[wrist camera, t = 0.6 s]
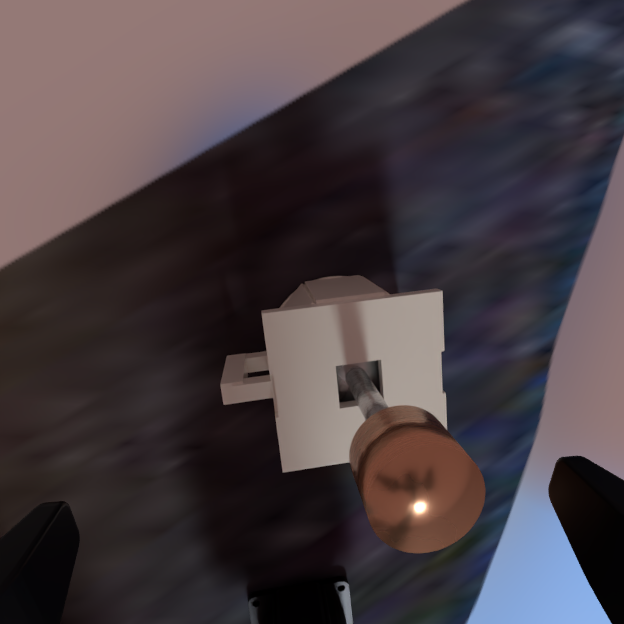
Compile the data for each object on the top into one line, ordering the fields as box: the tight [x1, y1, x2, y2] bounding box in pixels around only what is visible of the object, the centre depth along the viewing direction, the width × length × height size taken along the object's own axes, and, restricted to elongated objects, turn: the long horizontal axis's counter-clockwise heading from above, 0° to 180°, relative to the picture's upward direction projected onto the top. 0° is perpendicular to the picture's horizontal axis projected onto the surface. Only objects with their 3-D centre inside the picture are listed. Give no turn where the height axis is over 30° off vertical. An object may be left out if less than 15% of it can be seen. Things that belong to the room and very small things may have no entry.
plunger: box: [336, 360, 485, 553], centre depth 16 cm, size 5×5×9 cm
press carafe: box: [220, 275, 447, 473], centre depth 22 cm, size 8×10×6 cm
